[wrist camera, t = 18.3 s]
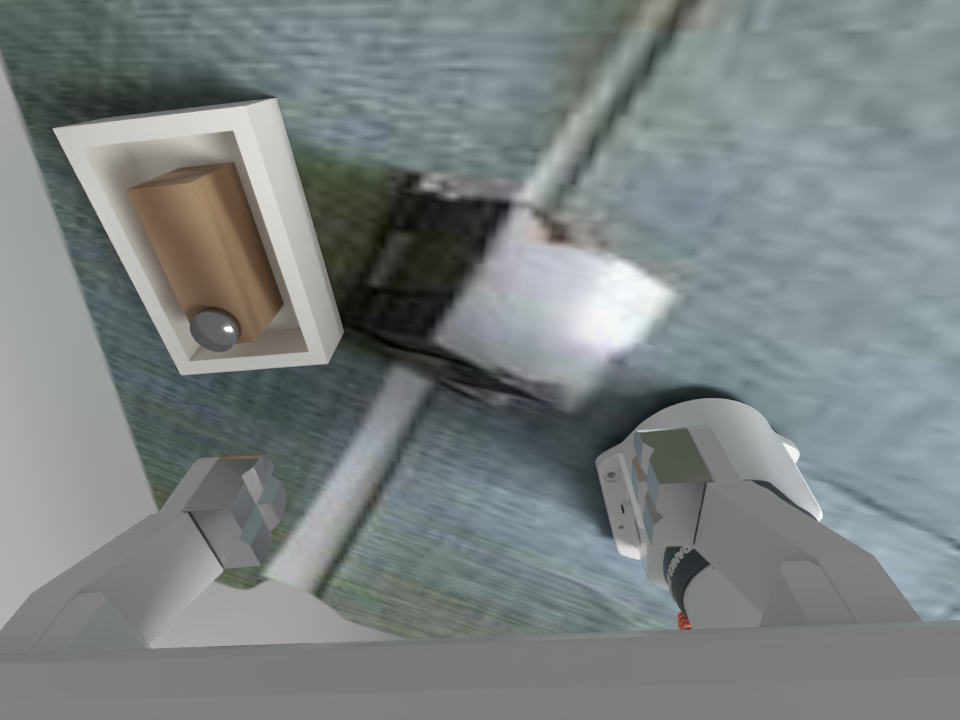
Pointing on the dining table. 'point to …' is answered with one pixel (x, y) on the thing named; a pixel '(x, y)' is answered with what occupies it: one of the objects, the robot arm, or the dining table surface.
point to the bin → (273, 202)
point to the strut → (210, 252)
